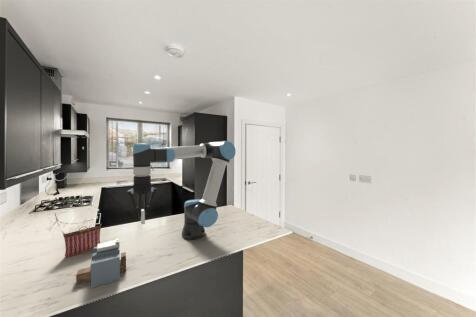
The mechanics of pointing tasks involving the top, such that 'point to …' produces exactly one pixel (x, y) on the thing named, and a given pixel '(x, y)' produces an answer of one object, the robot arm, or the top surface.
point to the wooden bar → (85, 273)
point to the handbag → (81, 240)
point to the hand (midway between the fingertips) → (142, 223)
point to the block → (105, 267)
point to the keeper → (108, 246)
